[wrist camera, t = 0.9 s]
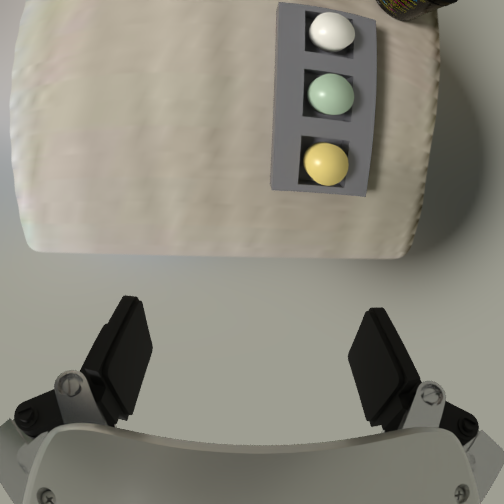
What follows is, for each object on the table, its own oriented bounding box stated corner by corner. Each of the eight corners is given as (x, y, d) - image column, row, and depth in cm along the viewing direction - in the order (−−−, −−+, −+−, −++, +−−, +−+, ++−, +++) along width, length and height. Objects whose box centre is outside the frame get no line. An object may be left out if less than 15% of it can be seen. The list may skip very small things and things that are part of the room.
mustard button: (304, 139, 27) (309, 141, 25) (343, 144, 27) (350, 146, 25) (301, 178, 29) (305, 184, 27) (339, 181, 29) (345, 187, 27)
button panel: (276, 11, 22) (278, 2, 19) (366, 26, 22) (375, 20, 19) (269, 183, 32) (271, 190, 29) (356, 189, 32) (365, 196, 29)
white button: (308, 16, 20) (313, 9, 18) (347, 23, 20) (354, 17, 18) (308, 49, 22) (313, 43, 20) (347, 55, 22) (355, 51, 20)
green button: (307, 74, 24) (312, 70, 21) (346, 80, 24) (354, 77, 22) (306, 112, 26) (310, 111, 24) (345, 117, 26) (352, 117, 24)
